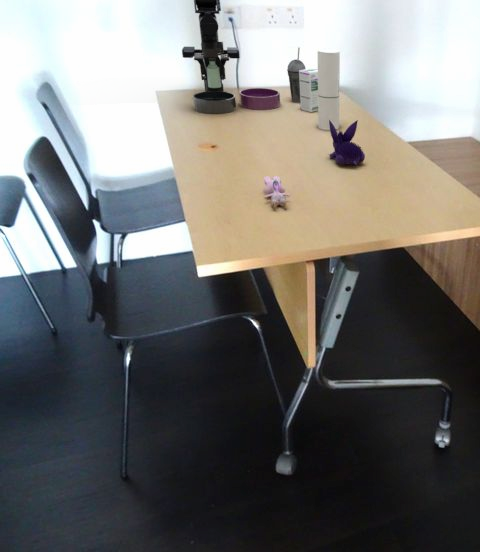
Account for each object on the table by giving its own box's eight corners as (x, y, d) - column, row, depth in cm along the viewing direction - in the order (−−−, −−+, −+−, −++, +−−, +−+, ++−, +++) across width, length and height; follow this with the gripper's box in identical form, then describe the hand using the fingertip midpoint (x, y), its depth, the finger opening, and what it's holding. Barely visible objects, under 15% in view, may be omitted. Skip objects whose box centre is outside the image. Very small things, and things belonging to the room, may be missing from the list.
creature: (347, 149, 177) (347, 110, 170) (370, 169, 163) (372, 127, 157) (320, 152, 173) (319, 112, 167) (342, 172, 159) (342, 129, 153)
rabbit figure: (293, 213, 137) (282, 181, 148) (293, 192, 133) (282, 161, 144) (267, 215, 135) (258, 183, 146) (266, 194, 131) (257, 162, 142)
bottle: (205, 86, 201) (202, 58, 196) (213, 84, 204) (211, 56, 199) (215, 88, 199) (212, 60, 195) (223, 86, 203) (221, 58, 198)
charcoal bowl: (185, 111, 202) (183, 96, 200) (213, 103, 214) (211, 89, 211) (218, 118, 198) (217, 103, 195) (244, 109, 209) (243, 95, 207)
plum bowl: (232, 107, 211) (231, 93, 208) (256, 99, 222) (255, 86, 220) (265, 113, 206) (264, 99, 203) (287, 105, 218) (287, 91, 215)
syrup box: (311, 112, 211) (310, 72, 204) (299, 109, 214) (298, 69, 207) (321, 110, 215) (321, 70, 208) (310, 106, 218) (309, 67, 211)
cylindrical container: (340, 125, 199) (341, 49, 186) (337, 131, 193) (337, 53, 180) (320, 123, 199) (320, 48, 187) (316, 129, 193) (315, 51, 181)
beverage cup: (286, 99, 226) (283, 45, 216) (303, 98, 229) (302, 45, 218) (291, 103, 220) (289, 49, 210) (309, 102, 223) (308, 49, 213)
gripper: (178, 33, 183) (184, 83, 191) (237, 35, 188) (241, 83, 196) (180, 28, 193) (186, 76, 201) (237, 30, 197) (240, 76, 205)
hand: (213, 78), depth 200 cm, fingers closed on bottle, 4 cm apart
